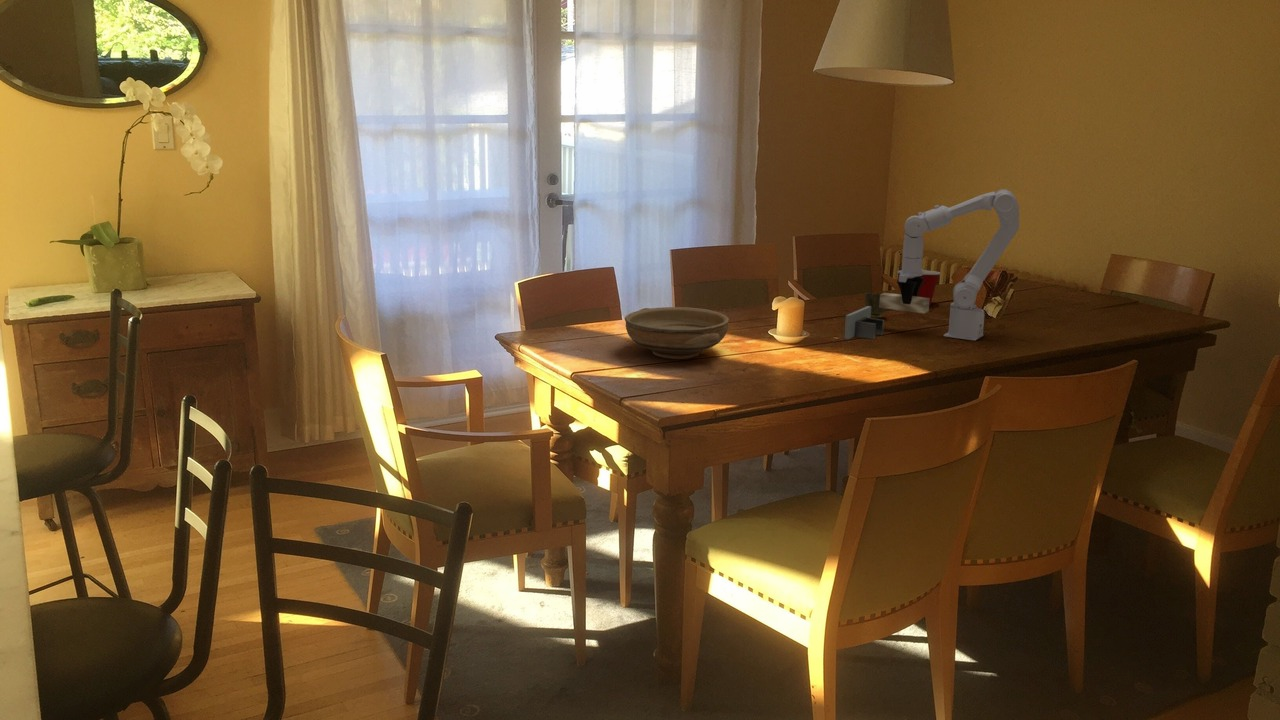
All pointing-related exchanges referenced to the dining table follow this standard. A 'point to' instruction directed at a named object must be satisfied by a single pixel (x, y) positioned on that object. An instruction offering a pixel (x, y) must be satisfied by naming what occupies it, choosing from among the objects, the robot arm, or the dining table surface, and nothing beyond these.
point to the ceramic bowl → (676, 330)
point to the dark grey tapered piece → (874, 304)
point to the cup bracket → (869, 327)
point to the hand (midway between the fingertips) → (909, 302)
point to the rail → (897, 304)
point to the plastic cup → (928, 284)
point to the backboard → (853, 318)
